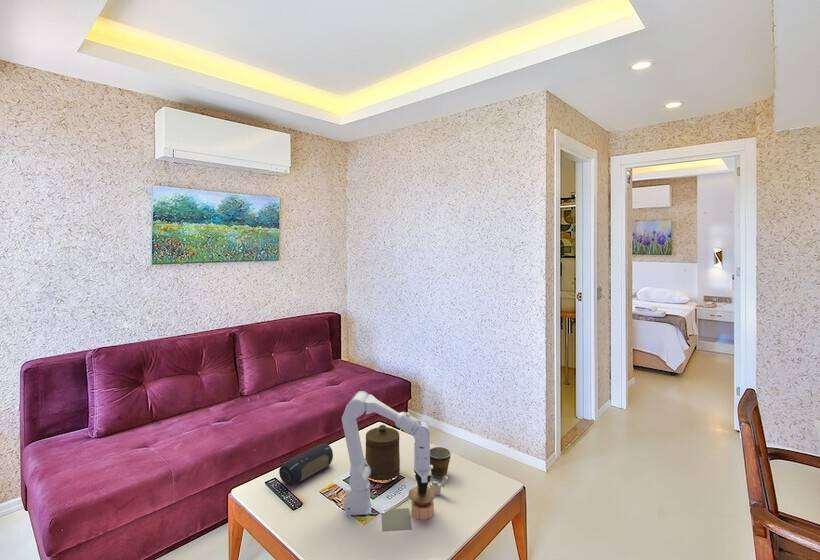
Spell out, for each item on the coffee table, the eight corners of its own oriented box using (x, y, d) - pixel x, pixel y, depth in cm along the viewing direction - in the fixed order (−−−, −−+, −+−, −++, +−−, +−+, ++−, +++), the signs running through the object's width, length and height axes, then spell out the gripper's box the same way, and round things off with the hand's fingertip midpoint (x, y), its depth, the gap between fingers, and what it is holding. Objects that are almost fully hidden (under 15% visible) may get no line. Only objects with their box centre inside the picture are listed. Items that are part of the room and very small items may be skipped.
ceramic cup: (450, 469, 187) (450, 447, 186) (450, 481, 177) (450, 458, 176) (421, 467, 188) (421, 446, 188) (419, 479, 178) (420, 457, 178)
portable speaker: (292, 492, 170) (291, 468, 169) (276, 483, 176) (276, 460, 175) (337, 465, 190) (337, 444, 189) (322, 459, 196) (321, 438, 195)
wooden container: (388, 462, 193) (388, 415, 191) (406, 477, 181) (406, 427, 179) (359, 471, 185) (359, 423, 183) (375, 488, 172) (375, 436, 171)
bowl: (412, 521, 152) (412, 509, 151) (410, 507, 160) (410, 496, 159) (434, 520, 153) (434, 508, 152) (431, 506, 161) (431, 495, 160)
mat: (382, 532, 146) (382, 531, 146) (381, 510, 158) (381, 509, 158) (411, 530, 147) (411, 529, 147) (408, 509, 159) (408, 508, 159)
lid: (410, 504, 150) (410, 491, 150) (407, 488, 160) (407, 476, 159) (436, 502, 151) (436, 490, 151) (432, 487, 161) (432, 475, 160)
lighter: (429, 495, 168) (429, 476, 167) (430, 492, 169) (430, 473, 169) (447, 496, 166) (447, 477, 166) (447, 494, 168) (448, 475, 167)
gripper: (435, 465, 147) (435, 501, 148) (430, 445, 162) (430, 479, 163) (415, 466, 147) (415, 503, 148) (412, 446, 161) (412, 480, 162)
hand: (422, 490), depth 155 cm, fingers closed on lid, 3 cm apart
